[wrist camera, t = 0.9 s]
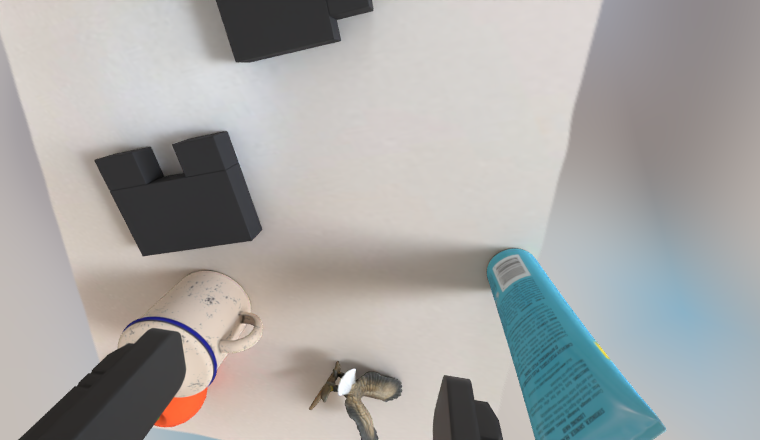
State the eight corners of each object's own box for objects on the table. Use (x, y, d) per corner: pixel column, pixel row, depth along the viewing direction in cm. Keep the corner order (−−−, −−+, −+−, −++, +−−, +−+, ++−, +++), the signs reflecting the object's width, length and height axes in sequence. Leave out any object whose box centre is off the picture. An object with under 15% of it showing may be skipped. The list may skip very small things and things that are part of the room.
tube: (513, 305, 37) (598, 523, 20) (471, 287, 37) (519, 492, 19) (556, 248, 34) (702, 445, 17) (510, 227, 34) (610, 406, 16)
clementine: (148, 357, 45) (103, 407, 39) (182, 334, 43) (140, 382, 37) (194, 397, 48) (159, 450, 41) (229, 377, 45) (197, 429, 39)
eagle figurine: (313, 397, 44) (375, 440, 43) (303, 419, 37) (377, 470, 36) (348, 342, 45) (409, 382, 44) (345, 352, 38) (417, 401, 37)
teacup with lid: (189, 333, 43) (114, 421, 32) (166, 267, 39) (73, 342, 29) (285, 334, 42) (240, 427, 31) (271, 266, 38) (214, 345, 27)
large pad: (114, 153, 35) (93, 160, 32) (227, 130, 33) (213, 136, 30) (159, 245, 38) (142, 256, 36) (262, 229, 36) (252, 240, 34)
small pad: (249, 62, 30) (235, 62, 28) (223, -21, 28) (206, -28, 26) (377, 32, 28) (374, 29, 26) (361, -60, 26) (355, -71, 24)
